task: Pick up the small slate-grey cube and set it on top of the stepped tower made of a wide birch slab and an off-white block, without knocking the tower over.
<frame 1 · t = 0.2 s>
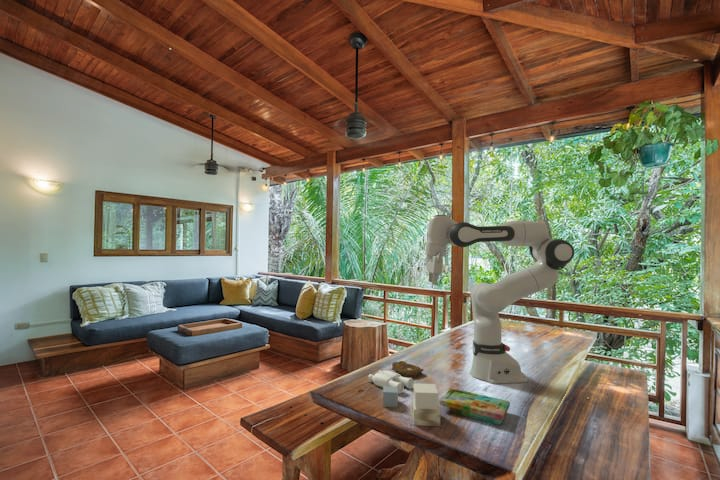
hand: (432, 283, 150), 39 cm above the table, tool pointing down, fingers open, 8 cm apart
white block: (425, 403, 110), point 5 cm above the table, touching birch slab
decorative rock: (405, 373, 150), on the table
puzzle game: (474, 413, 116), on the table
birch slab: (425, 419, 110), on the table, touching white block
grey cube: (390, 403, 121), on the table
binoculars: (389, 386, 137), on the table
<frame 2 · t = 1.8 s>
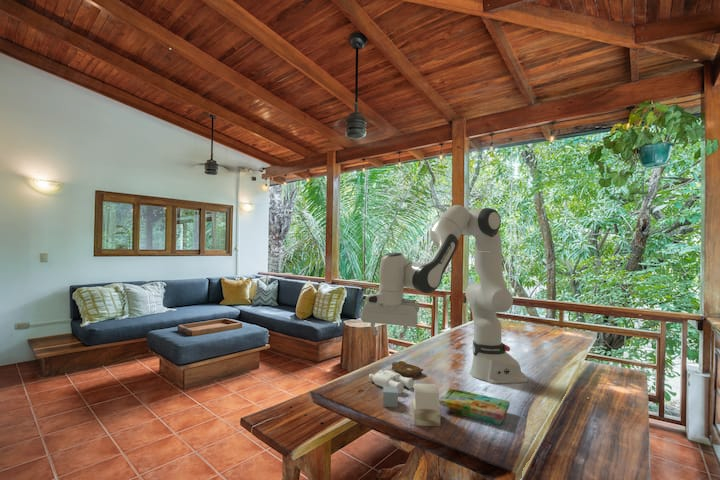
hand: (388, 336, 124), 23 cm above the table, tool pointing down, fingers open, 8 cm apart
nothing on the table moved.
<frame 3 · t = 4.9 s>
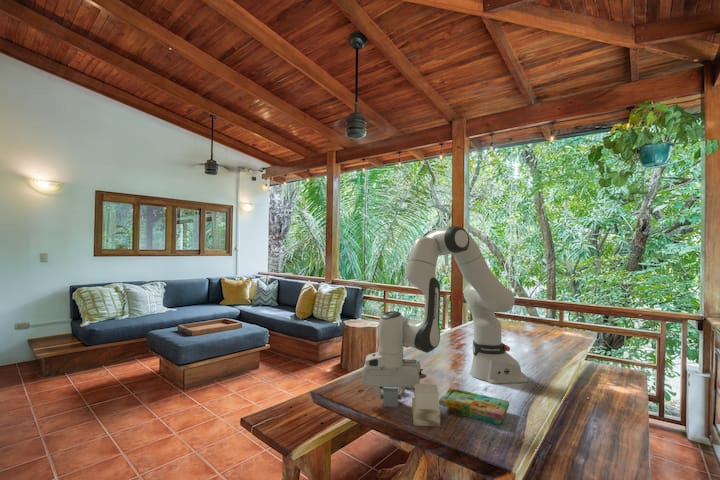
hand: (390, 398, 121), 2 cm above the table, tool pointing down, fingers closed on grey cube, 5 cm apart
grey cube: (390, 403, 121), on the table, touching gripper
everything else where it was.
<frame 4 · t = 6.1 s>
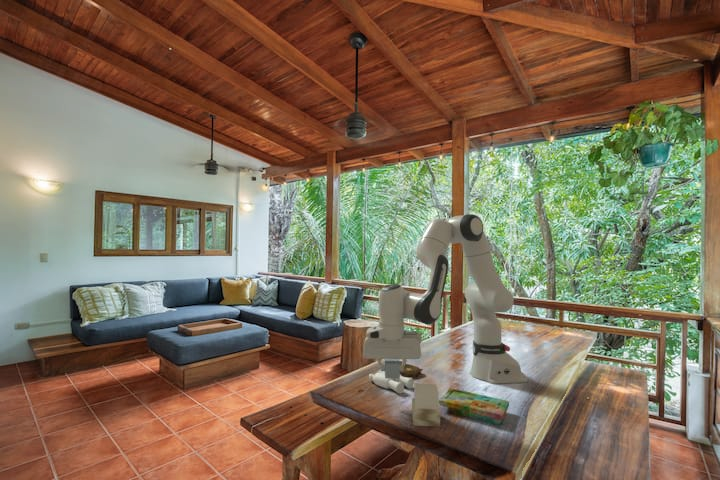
hand: (392, 370, 121), 11 cm above the table, tool pointing down, fingers closed on grey cube, 5 cm apart
grey cube: (392, 375, 121), point 10 cm above the table, touching gripper
everything else where it was.
when the fingers open (13 cm above the table, at t = 10.1 s): grey cube drops 1 cm, resting on white block.
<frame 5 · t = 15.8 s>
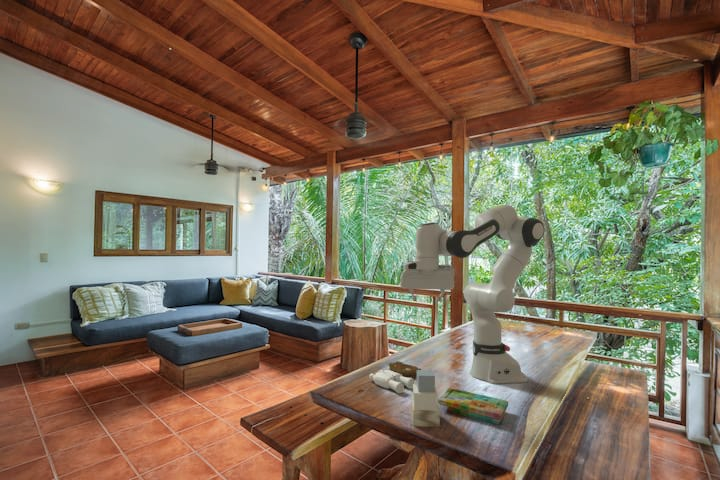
hand: (426, 300, 133), 34 cm above the table, tool pointing down, fingers open, 8 cm apart
white block: (424, 404, 110), point 5 cm above the table, touching birch slab, grey cube
grey cube: (425, 388, 110), point 10 cm above the table, touching white block
at the end: grey cube 0.4 cm off-centre on the white block, point 5.0 cm above the white block's base; grey cube tilted 0°; white block tilted 0° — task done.
